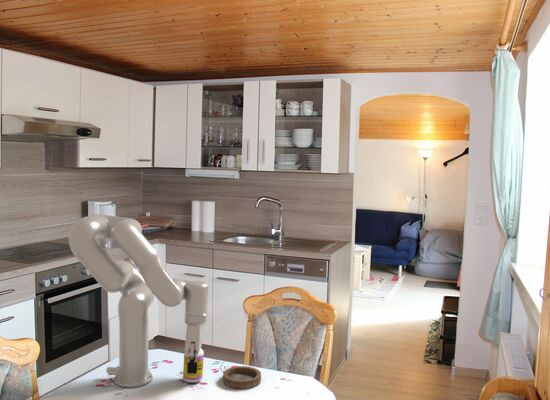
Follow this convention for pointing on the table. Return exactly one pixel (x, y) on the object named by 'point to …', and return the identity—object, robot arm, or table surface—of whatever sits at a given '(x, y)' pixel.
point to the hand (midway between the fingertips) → (193, 368)
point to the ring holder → (241, 377)
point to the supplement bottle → (199, 374)
